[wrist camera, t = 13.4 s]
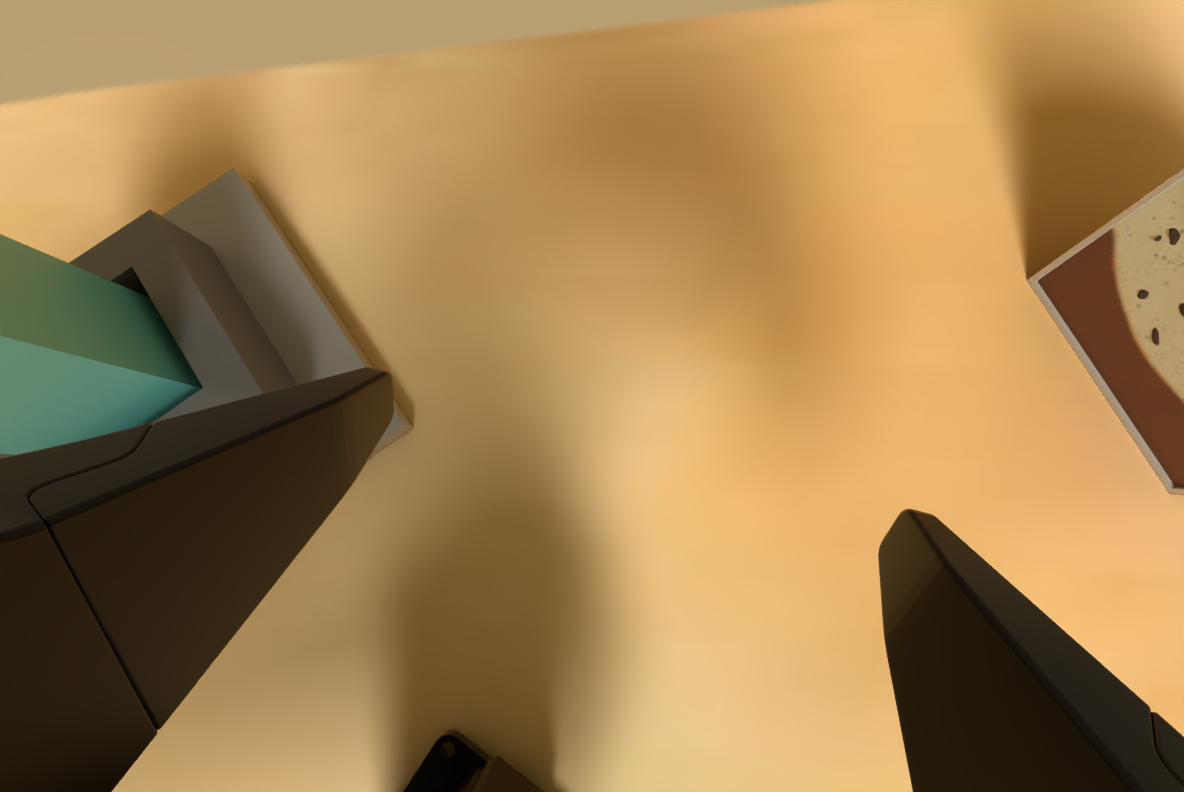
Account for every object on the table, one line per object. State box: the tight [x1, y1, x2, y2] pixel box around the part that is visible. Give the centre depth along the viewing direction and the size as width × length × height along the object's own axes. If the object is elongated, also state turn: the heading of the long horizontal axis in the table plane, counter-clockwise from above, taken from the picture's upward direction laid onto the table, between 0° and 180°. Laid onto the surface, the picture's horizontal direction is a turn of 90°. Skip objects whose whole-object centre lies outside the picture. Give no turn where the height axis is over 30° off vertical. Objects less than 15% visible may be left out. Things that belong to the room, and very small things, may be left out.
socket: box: [0, 169, 413, 459], centre depth 21 cm, size 14×14×4 cm
